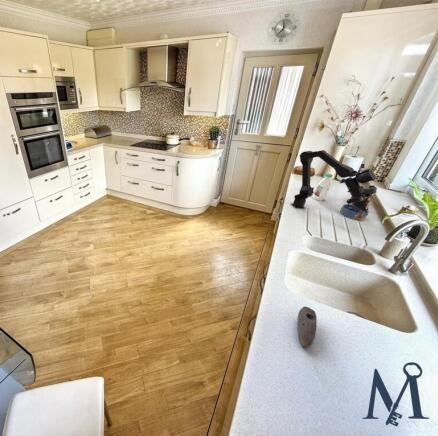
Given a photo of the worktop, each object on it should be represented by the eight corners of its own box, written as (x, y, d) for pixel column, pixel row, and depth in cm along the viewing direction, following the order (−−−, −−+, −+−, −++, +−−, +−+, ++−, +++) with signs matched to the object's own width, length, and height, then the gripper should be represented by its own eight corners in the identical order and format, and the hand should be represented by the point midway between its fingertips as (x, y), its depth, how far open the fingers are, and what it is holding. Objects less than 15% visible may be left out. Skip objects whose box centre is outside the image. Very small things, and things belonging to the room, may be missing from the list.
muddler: (361, 222, 138) (373, 202, 132) (352, 219, 141) (363, 199, 135) (363, 220, 141) (375, 200, 134) (354, 216, 144) (365, 197, 137)
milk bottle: (323, 197, 185) (334, 173, 174) (324, 201, 178) (336, 176, 168) (311, 195, 187) (322, 172, 177) (313, 199, 181) (324, 174, 171)
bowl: (349, 220, 154) (353, 213, 152) (334, 210, 167) (337, 203, 164) (370, 220, 155) (374, 214, 152) (354, 210, 167) (357, 204, 164)
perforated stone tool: (310, 356, 74) (319, 344, 71) (292, 347, 76) (300, 334, 73) (311, 322, 85) (319, 309, 82) (295, 315, 88) (302, 302, 84)
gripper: (363, 183, 128) (377, 209, 125) (376, 178, 136) (390, 202, 134) (340, 191, 137) (353, 216, 135) (354, 186, 146) (366, 209, 144)
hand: (366, 210), depth 137 cm, fingers closed on muddler, 2 cm apart
